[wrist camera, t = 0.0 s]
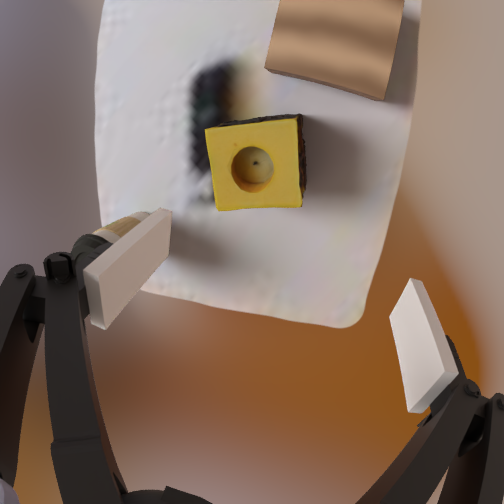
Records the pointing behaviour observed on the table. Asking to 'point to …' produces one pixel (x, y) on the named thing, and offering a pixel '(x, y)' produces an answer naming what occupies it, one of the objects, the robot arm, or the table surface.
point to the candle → (258, 162)
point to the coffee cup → (106, 235)
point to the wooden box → (337, 43)
